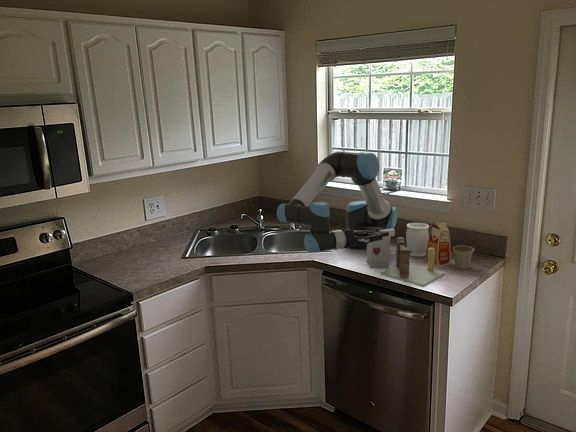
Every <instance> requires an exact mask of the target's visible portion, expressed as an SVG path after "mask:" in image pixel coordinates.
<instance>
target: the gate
mask: <svg viewBox="0 0 576 432" xmlns="http://www.w3.org/2000/svg"><path fill="white" fill-rule="evenodd" d="M412 253H413V252H412V250H409V248H408V247H406V246H405V240H404V241H398V268H400V271H399V274H400V277H409V264H410V260H411V257H410V254H412Z"/></svg>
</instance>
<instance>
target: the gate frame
mask: <svg viewBox="0 0 576 432" xmlns="http://www.w3.org/2000/svg"><path fill="white" fill-rule="evenodd" d="M398 241H404V242H405V237H402V236H399V237H396V255H395V256H396V257H395V265H394V266H391V267H388V269H387V268H386V269H385V270H383V271H381V272H380V275H381V276H384V277H388V278H391V279H395V280H398V281H402V282H405V283H409V284H413V285H415V286H418V287H422V288H424V287H426V286H427V285H429V284H431V283H432V282H435V281H436V280H437V279H440V278H441V277H443V276H444V275H446V274H445V272H442V271H438V270H436V269H435V266H434V258H435V248H428V263H427V267H424V266H423V267H422V266H419V265H415V264H412V263H409V277H400V274H399V271H400V268H398Z"/></svg>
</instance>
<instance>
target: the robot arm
mask: <svg viewBox="0 0 576 432" xmlns="http://www.w3.org/2000/svg"><path fill="white" fill-rule="evenodd" d="M379 163H380V162H379V158H378V156H377V155H376V154H375V153H374V152H371V151H366V150H364V151H357V150H355V151H354V150H353V151H352V150H351V151H350V150H338V151H335V152H333V153H330V154H329V155H328V156H327V155H326V157H324V158H323V159H322V160H321V161H320V162H319V163H318V164H317V165H316V167H315V171H314V172H313V174H312V175H311V176H310V177H309V179H307V181H306V182H305V183H304V184H303V186H302V187H301V188H300V189H299V190H298V192H297V193H296V194H295V195H294V197H292V199H290V201H289V202H288V203H281V204H279V205H278V206H277V209H276V217H277V219H278V220H279V222H281V223H282V222H283V223H287V224H291V225H292V224H294V225H302V226H303V225H304V226H307V227H309V233H307V234H305V235H304V239H303V245H304V248H305V250H306V252H308V253H321V252H327V251H338V250H341V249H353V250H354V249H355V250H361V249H363V250H364V249H367V244H368V243H370V242H374V241H378V240H382V239H383V237H390V238H391V237H395V233H396V231H395V230H396V229H395V227H396V225H397V222H398V221H397V220H398V216H399V215H398V214H399V210H398V207H396V206H391V204H390V203H389V201H387V200H386V199H385V197H384V195H383V192H382V190H381V187H380V185H379V182H378V180H377V177H378V174H379V171H380V165H379ZM338 177H339V178H350V179H351V181H352V183H354V184H355V185H356V186H358V188H359V190H360V192H361V194H362V196H363V199H364V200H355V201H351V202H349V203H347V205H346V212H345V214H346V217H345V218H346V221H345V222H346V229H345V228H344V229H335V230H330V215H331V214H330V205H329V203H327V202H325V201H316V199H317V198H318V196H319V195H320V194H321V193H322V191H324V189H325V187H326V186H327V185H328V184H329V183H330V182H332V181H334V180H335V178H338ZM371 228H372V229H371Z"/></svg>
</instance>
